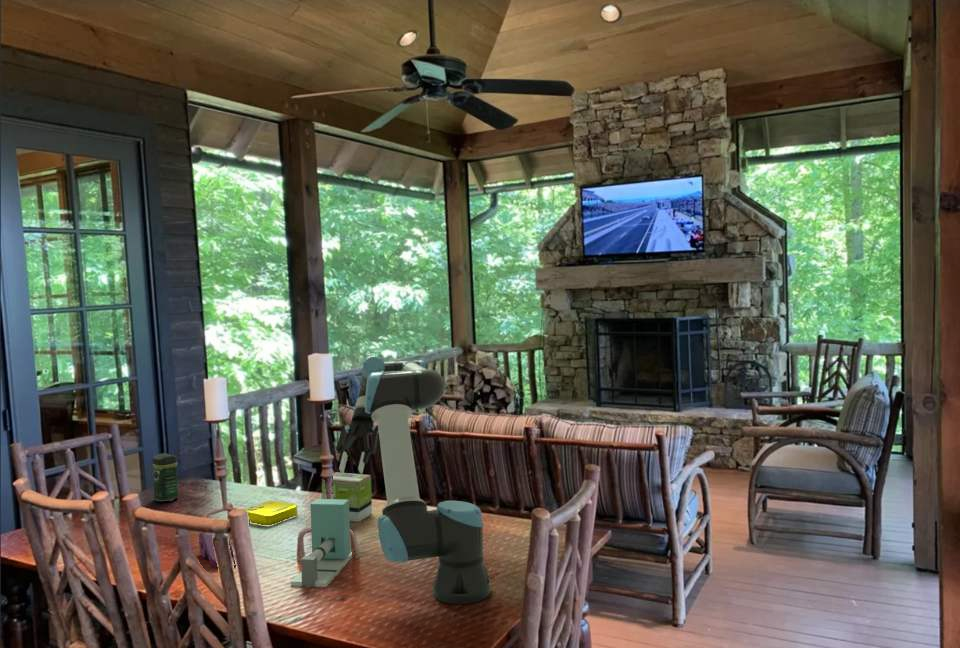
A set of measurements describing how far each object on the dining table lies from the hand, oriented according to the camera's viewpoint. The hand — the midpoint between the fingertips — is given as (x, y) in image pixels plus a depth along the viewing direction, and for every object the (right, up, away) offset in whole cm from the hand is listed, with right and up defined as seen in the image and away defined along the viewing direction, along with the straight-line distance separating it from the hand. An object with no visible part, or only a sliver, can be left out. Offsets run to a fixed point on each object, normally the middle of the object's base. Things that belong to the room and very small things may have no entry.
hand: (350, 471), depth 220 cm
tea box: (-6, -22, +25) cm, 34 cm away
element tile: (-34, -23, +25) cm, 48 cm away
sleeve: (-2, -21, -18) cm, 28 cm away
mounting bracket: (-36, -24, -13) cm, 46 cm away
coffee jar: (-84, -23, +52) cm, 101 cm away
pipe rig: (-3, -23, -23) cm, 33 cm away
